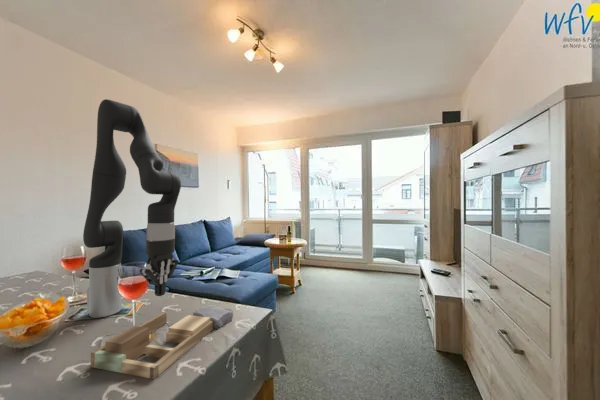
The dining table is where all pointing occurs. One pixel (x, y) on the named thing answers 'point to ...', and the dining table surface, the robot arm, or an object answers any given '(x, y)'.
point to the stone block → (215, 314)
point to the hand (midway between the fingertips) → (160, 295)
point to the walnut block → (129, 342)
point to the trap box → (156, 347)
